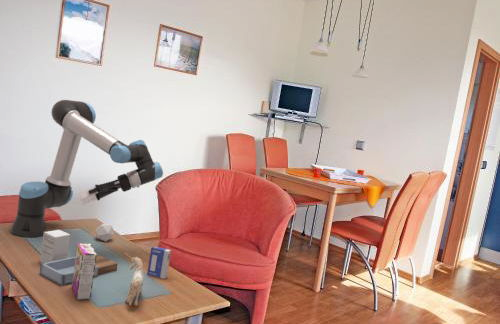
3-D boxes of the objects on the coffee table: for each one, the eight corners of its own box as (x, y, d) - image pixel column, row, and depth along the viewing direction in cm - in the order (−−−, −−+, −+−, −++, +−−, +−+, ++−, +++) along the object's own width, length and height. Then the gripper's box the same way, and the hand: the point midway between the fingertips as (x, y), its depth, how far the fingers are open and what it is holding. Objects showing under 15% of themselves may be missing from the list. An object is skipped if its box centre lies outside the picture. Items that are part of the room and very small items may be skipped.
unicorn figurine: (138, 287, 173) (143, 253, 172) (148, 310, 156) (154, 273, 154) (119, 286, 170) (124, 252, 169) (126, 310, 153) (132, 272, 151)
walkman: (146, 274, 187) (151, 246, 186) (149, 272, 190) (154, 245, 188) (164, 279, 185) (169, 251, 184) (167, 277, 188) (171, 249, 187)
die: (116, 242, 223) (114, 223, 227) (111, 237, 215) (109, 218, 219) (99, 245, 222) (98, 227, 226) (94, 241, 214) (92, 222, 218)
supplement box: (55, 258, 186) (59, 229, 185) (66, 264, 182) (71, 234, 181) (39, 262, 180) (43, 231, 178) (50, 268, 176) (55, 236, 175)
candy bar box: (70, 286, 163) (77, 243, 161) (85, 286, 165) (91, 243, 164) (75, 300, 153) (82, 253, 152) (90, 299, 156) (97, 253, 154)
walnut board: (77, 265, 183) (78, 258, 182) (96, 261, 191) (97, 254, 191) (97, 275, 177) (98, 268, 176) (116, 270, 185) (117, 263, 185)
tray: (39, 274, 169) (40, 263, 168) (75, 265, 183) (76, 256, 182) (61, 285, 162) (63, 275, 162) (97, 276, 176) (98, 266, 176)
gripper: (134, 182, 190) (84, 201, 181) (129, 194, 212) (84, 211, 204) (127, 166, 191) (77, 184, 182) (123, 179, 213) (78, 196, 205)
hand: (81, 199), depth 193 cm, fingers open, 13 cm apart
